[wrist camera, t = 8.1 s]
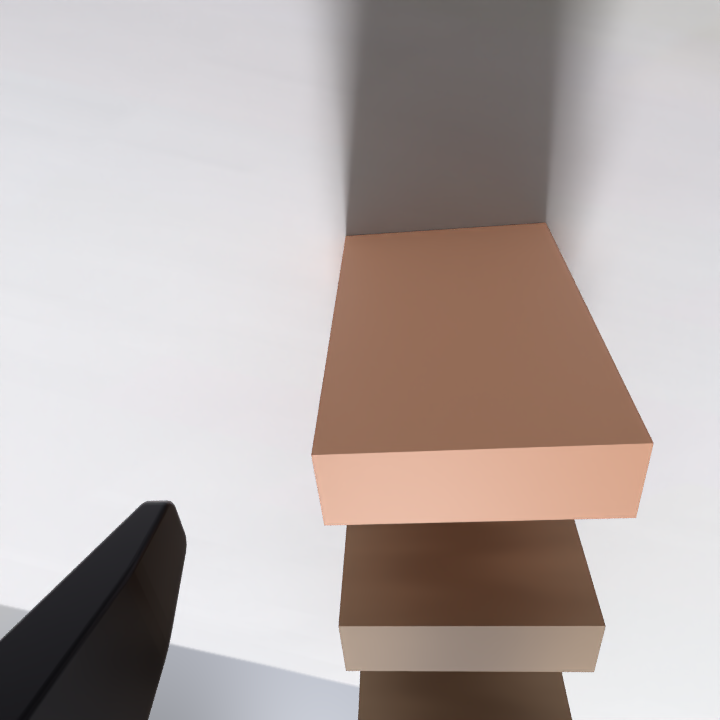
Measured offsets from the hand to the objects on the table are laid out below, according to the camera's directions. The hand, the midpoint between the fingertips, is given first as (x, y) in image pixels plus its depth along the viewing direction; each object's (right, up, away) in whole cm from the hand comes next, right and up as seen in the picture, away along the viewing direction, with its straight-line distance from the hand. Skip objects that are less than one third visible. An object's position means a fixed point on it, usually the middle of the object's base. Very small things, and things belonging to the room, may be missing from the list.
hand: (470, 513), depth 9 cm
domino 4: (+1, +1, +10) cm, 10 cm away
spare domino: (+1, +5, +7) cm, 9 cm away
